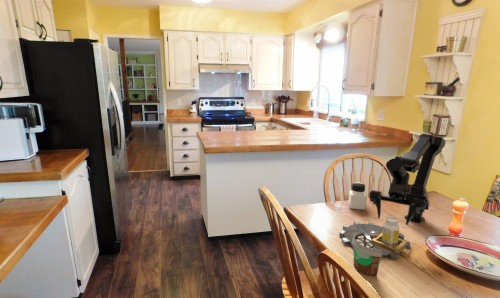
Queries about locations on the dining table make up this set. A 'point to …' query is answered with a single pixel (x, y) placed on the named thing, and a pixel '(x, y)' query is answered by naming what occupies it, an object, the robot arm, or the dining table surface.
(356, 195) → the medicine bottle
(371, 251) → the food container
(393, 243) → the supplement bottle
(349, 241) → the sprocket
